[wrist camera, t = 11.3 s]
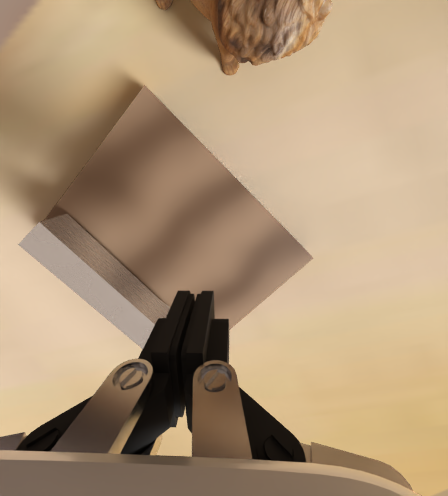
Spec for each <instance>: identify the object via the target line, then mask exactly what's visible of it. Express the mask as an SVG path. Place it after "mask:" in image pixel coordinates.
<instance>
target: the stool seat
mask: <svg viewBox="0 0 448 496" xmlns="http://www.w3.org/2000/svg"><path fill="white" fill-rule="evenodd" d="M64 214H68V215H69V216H70V217H71V218H72V219H74V220H75V221H76V222H77V223H78V224H79V225H80V226H81V227H82V228H83V229H84V230H85V231H86V232H88V233H89V234H90V235H91V236H92V237H93V238H94V239H95V240H96V241H97V242H98V243H99V244H100V245H102V246H103V247H104V248H105V249H106V250H107V251H108V252H109V253H110V254H111V255H112V256H113V257H114V258H116V259H117V260H118V261H119V262H120V263H121V264H122V265H123V266H124V267H125V268H126V269H127V270H128V271H130V272H131V273H132V274H133V275H134V276H135V277H136V278H137V279H138V280H139V281H140V282H141V283H142V284H144V285H145V286H146V287H147V288H148V289H149V290H150V291H151V292H152V293H153V294H154V295H155V296H157V297H158V298H159V299H160V300H161V301H162V302H163V303H164V304H165V305H166V306H167V307H168V308H169V309H170V307H171V305H172V303H173V301H174V298H175V296H176V294H177V292H178V291H190V293H191V294H194V295H195V300H196V297H197V294H201V292H202V291H214V312H215V319H229V330H230V329H231V328H232V327H233V326H235V325H236V324H237V323H238V322H239V321H240V320H242V319H243V318H244V317H245V316H246V315H247V314H249V313H250V312H251V311H252V310H253V309H254V308H256V307H257V306H258V305H259V304H260V303H261V302H263V301H264V300H265V299H266V298H267V297H268V296H270V295H271V294H272V293H273V292H274V291H275V290H277V289H278V288H279V287H280V286H281V285H282V284H284V283H285V282H286V281H287V280H288V279H289V278H291V277H292V276H293V275H294V274H295V273H296V272H298V271H299V270H300V269H301V268H302V267H304V266H305V265H306V264H307V263H308V262H309V261H311V260H312V259H313V257H312V256H311V255H310V254H309V253H308V252H307V251H306V250H305V249H304V248H303V247H302V246H301V245H300V244H299V243H298V242H297V241H296V240H295V239H294V238H293V236H292V235H291V234H290V233H289V232H288V231H287V230H286V229H285V228H284V227H283V226H282V225H281V224H280V223H279V222H278V221H277V220H276V219H275V218H274V217H273V216H272V215H271V214H270V213H269V212H268V211H267V210H266V209H265V208H264V207H263V206H262V205H261V204H260V203H259V202H258V201H257V200H256V199H255V198H254V197H253V196H252V195H251V194H250V192H249V191H248V190H247V189H246V188H245V187H244V186H243V185H242V184H241V183H240V182H239V181H238V180H237V179H236V178H235V177H234V176H233V175H232V174H231V173H230V172H229V171H228V170H227V169H226V168H225V167H224V166H223V165H222V164H221V163H220V162H219V161H218V160H217V159H216V158H215V157H214V156H213V155H212V154H211V153H210V152H209V151H208V150H207V148H206V147H205V146H204V145H203V144H202V143H201V142H200V141H199V140H198V139H197V138H196V137H195V136H194V135H193V134H192V133H191V132H190V131H189V130H188V129H187V128H186V127H185V126H184V125H183V124H182V123H181V122H180V121H179V120H178V119H177V118H176V117H175V116H174V115H173V114H172V113H171V112H170V111H169V110H168V109H167V108H166V107H165V105H164V104H163V103H162V102H161V101H160V100H159V99H158V98H157V97H156V96H155V95H154V94H153V93H152V92H151V91H150V90H149V89H148V88H147V87H146V86H145V85H144V86H143V88H142V89H141V90H140V92H139V93H138V95H137V96H136V97H135V99H134V100H133V101H132V103H131V104H130V105H129V107H128V108H127V109H126V111H125V112H124V113H123V115H122V116H121V117H120V119H119V120H118V122H117V123H116V124H115V126H114V127H113V128H112V130H111V131H110V132H109V134H108V135H107V136H106V138H105V139H104V140H103V142H102V143H101V144H100V146H99V147H98V148H97V150H96V151H95V153H94V154H93V155H92V157H91V158H90V159H89V161H88V162H87V163H86V165H85V166H84V167H83V169H82V170H81V171H80V173H79V174H78V175H77V177H76V178H75V179H74V181H73V182H72V184H71V185H70V186H69V188H68V189H67V190H66V192H65V193H64V194H63V196H62V197H61V198H60V200H59V201H58V202H57V204H56V205H55V206H54V208H53V209H52V211H51V212H50V213H49V215H48V216H47V217H46V219H45V220H47V219H51V218H54V217H57V216H61V215H64Z"/></svg>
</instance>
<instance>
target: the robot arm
mask: <svg viewBox="0 0 448 496" xmlns="http://www.w3.org/2000/svg"><path fill="white" fill-rule="evenodd" d="M185 406H186V416H187V424H188V429H189V430H190V432H191V433H192V457H185V456H160V455H156V454H157V452H158V449H159V447H160V444H161V440H162V433H164V432H165V431H166V430H167V429H169V428H170V427H176V425H177V420H178V417H183V415H184V410H185ZM0 496H421V495H420V494H418V493H416V492H414V491H413V490H412V488H411V486H410V484H409V483H408V482H407V481H406V479H405V478H404V477H403V476H402V475H401V474H400V473H399V472H398V471H397V470H395V469H394V468H393V467H392V466H390V465H388V464H386V463H383V462H381V461H378V460H375V459H371V458H367V457H364V456H360V455H357V454H353V453H349V452H346V451H342V450H339V449H335V448H332V447H328V446H324V445H321V444H317V443H314V442H311V446H310V445H306V444H303V443H300V442H299V441H298V440H297V438H296V437H295V436H294V435H293V434H292V433H291V432H290V431H289V430H287V429H286V428H285V427H284V426H283V425H282V424H281V423H280V422H278V421H277V420H276V419H275V418H274V417H273V416H272V415H270V414H269V413H268V412H267V411H266V410H265V409H264V408H262V407H261V406H260V405H259V404H258V403H257V402H256V401H255V400H253V399H252V398H251V397H250V396H249V395H248V394H247V393H245V392H244V391H243V390H242V389H241V388H240V387H239V386H238V380H237V375H236V372H235V370H234V368H233V367H232V366H231V365H230V364H229V319H215V312H214V291H202V292H201V294H197V297H196V300H195V295H194V294H191V293H190V291H178V292H177V294H176V296H175V298H174V301H173V303H172V305H171V307H170V310H169V312H168V314H167V316H166V318H159V319H158V320H157V321H156V323H155V325H154V328H153V330H152V332H151V334H150V336H149V338H148V340H147V342H146V344H145V346H144V348H143V350H142V352H141V354H140V356H139V358H138V359H132V360H128V361H126V362H123V363H121V364H120V365H118V366H117V367H116V368H115V369H114V370H113V371H112V372H111V373H110V374H109V376H108V377H107V378H106V380H105V381H104V382H103V384H102V385H101V386H100V387H99V389H98V390H97V391H96V393H95V394H94V395H93V396H92V397H90V398H88V399H86V400H85V401H83V402H81V403H79V404H78V405H76V406H74V407H73V408H71V409H69V410H67V411H66V412H64V413H62V414H60V415H59V416H57V417H55V418H53V419H52V420H50V421H48V422H47V423H45V424H43V425H41V426H40V427H38V428H37V429H35V430H34V431H33V432H31V433H30V434H29V435H28V436H26V434H25V432H23V433H18V434H13V435H8V436H3V437H0Z"/></svg>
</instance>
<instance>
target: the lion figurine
mask: <svg viewBox="0 0 448 496" xmlns="http://www.w3.org/2000/svg"><path fill="white" fill-rule="evenodd" d="M190 1H191V2H192V3H193V5H194V6H195V7H196V8H197V9H198V10H199V11H200V12H201V13H202V14H203V15H204V16H205V17H206V18H207V19H209V20H210V21H211V22H212V27H213V31H214V34H215V37H216V40H217V43H218V46H219V50H220V54H221V61H222V68H223V71H224V73H225V74H226V75H233V74H235V73H236V72H237V70H238V68H239V63H246V62H247V61H250V62H251V64H252V65H255V66H257V65H259V64H262V63H267V62H270V61H271V60H278V59H280V58H283V57H285V56H291V54H292V53H295V52H296V51H299V50H301V49H302V48H303V47H305V46H306V45H309V44H310V43H311V42H312V41H313V40H314V39H315V38H317V36H318V34H319V32H320V29H321V27H322V25H323V22H324V21H325V18H326V16H327V15H328V14H329V13H330V11H331V9H332V1H331V0H190ZM156 3H157V5H158V6H159V8H160V9H163V10H167V9H168V8H169V7H170V5H171V4H172V0H156ZM238 62H239V63H238Z"/></svg>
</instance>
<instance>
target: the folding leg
mask: <svg viewBox="0 0 448 496" xmlns="http://www.w3.org/2000/svg"><path fill="white" fill-rule="evenodd" d="M18 245H19V246H21V247H22V248H23V249H24V250H25V251H26V252H28V253H29V254H30V255H31V256H32V257H34V258H35V259H36V260H37V261H38V262H40V263H41V264H42V265H43V266H44V267H46V268H47V269H48V270H49V271H50V272H51V273H53V274H54V275H55V276H56V277H57V278H59V279H60V280H61V281H62V282H63V283H65V284H66V285H67V286H68V287H69V288H71V289H72V290H73V291H74V292H75V293H77V294H78V295H79V296H80V297H81V298H82V299H84V300H85V301H86V302H87V303H88V304H90V305H91V306H92V307H93V308H94V309H96V310H97V311H98V312H99V313H100V314H102V315H103V316H104V317H105V318H106V319H107V320H109V321H110V322H111V323H112V324H113V325H115V326H116V327H117V328H118V329H119V330H121V331H122V332H123V333H124V334H125V335H127V336H128V337H129V338H130V339H131V340H132V341H134V342H135V343H136V344H137V345H138V346H140V347H141V348H142V349H143V348H144V346H145V344H146V342H147V340H148V338H149V336H150V334H151V332H152V330H153V328H154V325H155V323H156V321H157V320H158V319H159V318H166V316H167V314H168V312H169V310H170V309H169V308H168V307H167V306H166V305H165V304H164V303H163V302H162V301H161V300H160V299H159V298H158V297H157V296H155V295H154V294H153V293H152V292H151V291H150V290H149V289H148V288H147V287H146V286H145V285H144V284H142V283H141V282H140V281H139V280H138V279H137V278H136V277H135V276H134V275H133V274H132V273H131V272H130V271H128V270H127V269H126V268H125V267H124V266H123V265H122V264H121V263H120V262H119V261H118V260H117V259H116V258H114V257H113V256H112V255H111V254H110V253H109V252H108V251H107V250H106V249H105V248H104V247H103V246H102V245H100V244H99V243H98V242H97V241H96V240H95V239H94V238H93V237H92V236H91V235H90V234H89V233H88V232H86V231H85V230H84V229H83V228H82V227H81V226H80V225H79V224H78V223H77V222H76V221H75V220H74V219H72V218H71V217H70V216H69V215H68V214H64V215H61V216H57V217H54V218H51V219H47V220H44V221H41V222H39V223H38V224H37V225H36V226H35V227H34V228H33V229H32V230H31V231H30V232H29V233H28V235H27V236H26V237H25V238H24V239H23V240H22V241H21V242H20V243H19V244H18Z"/></svg>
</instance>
